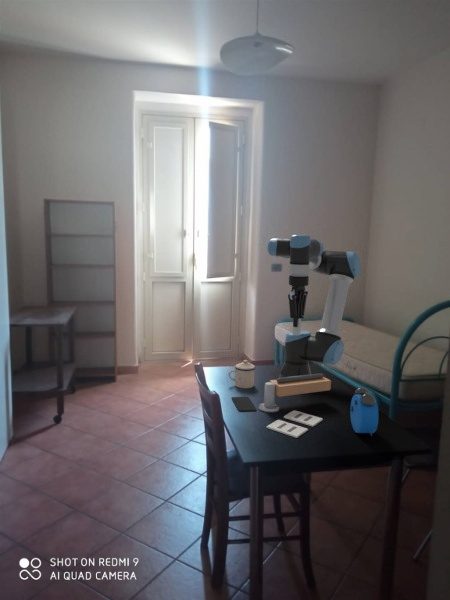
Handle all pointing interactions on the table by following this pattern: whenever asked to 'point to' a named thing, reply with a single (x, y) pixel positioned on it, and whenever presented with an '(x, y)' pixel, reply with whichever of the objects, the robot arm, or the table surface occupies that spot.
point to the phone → (243, 404)
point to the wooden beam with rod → (294, 386)
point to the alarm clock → (364, 412)
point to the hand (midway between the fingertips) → (296, 334)
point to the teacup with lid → (243, 375)
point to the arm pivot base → (265, 409)
